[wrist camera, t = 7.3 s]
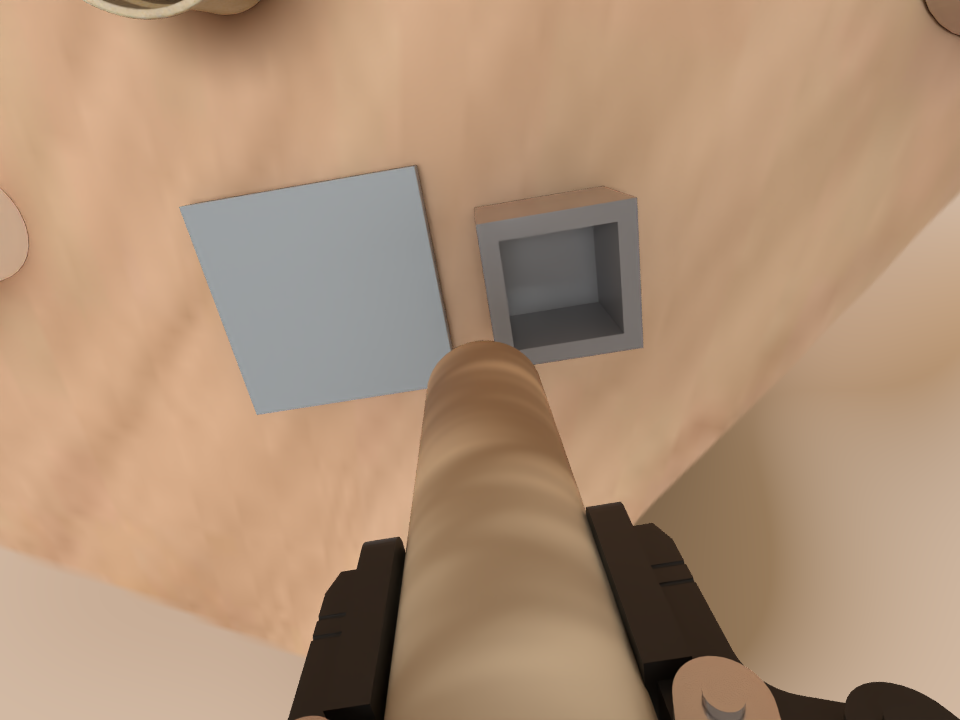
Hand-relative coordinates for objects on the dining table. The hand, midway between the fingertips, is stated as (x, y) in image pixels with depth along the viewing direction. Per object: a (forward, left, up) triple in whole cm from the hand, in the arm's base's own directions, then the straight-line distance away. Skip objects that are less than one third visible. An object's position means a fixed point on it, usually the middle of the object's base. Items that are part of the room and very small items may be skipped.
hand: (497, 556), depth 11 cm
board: (+10, 0, -25) cm, 27 cm away
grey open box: (-4, 0, -25) cm, 25 cm away
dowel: (0, 0, -8) cm, 8 cm away
